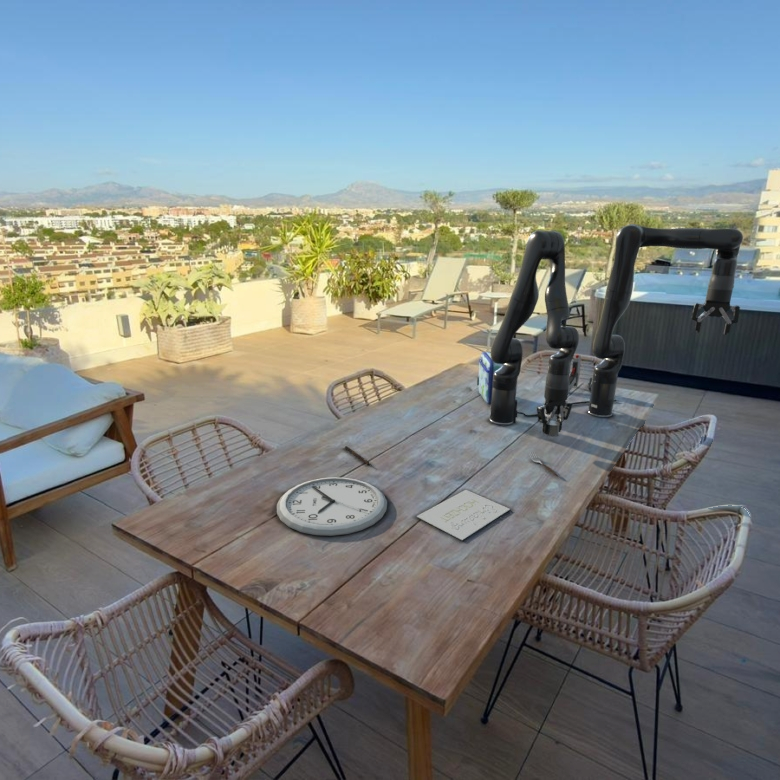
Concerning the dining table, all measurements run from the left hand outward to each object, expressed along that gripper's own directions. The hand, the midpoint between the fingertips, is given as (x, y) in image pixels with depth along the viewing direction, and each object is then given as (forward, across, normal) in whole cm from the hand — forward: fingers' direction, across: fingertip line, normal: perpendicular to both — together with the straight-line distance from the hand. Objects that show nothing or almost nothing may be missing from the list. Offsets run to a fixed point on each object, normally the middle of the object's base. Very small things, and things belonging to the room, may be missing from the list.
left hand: (551, 432), depth 181 cm
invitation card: (+6, -52, -26) cm, 58 cm away
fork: (+6, -13, -12) cm, 18 cm away
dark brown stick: (+6, -65, +18) cm, 68 cm away
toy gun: (+6, +56, +51) cm, 76 cm away
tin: (+1, 0, 0) cm, 1 cm away
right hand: (-32, +61, -8) cm, 70 cm away
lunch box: (+6, +12, +53) cm, 54 cm away
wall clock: (+6, -83, -9) cm, 83 cm away
